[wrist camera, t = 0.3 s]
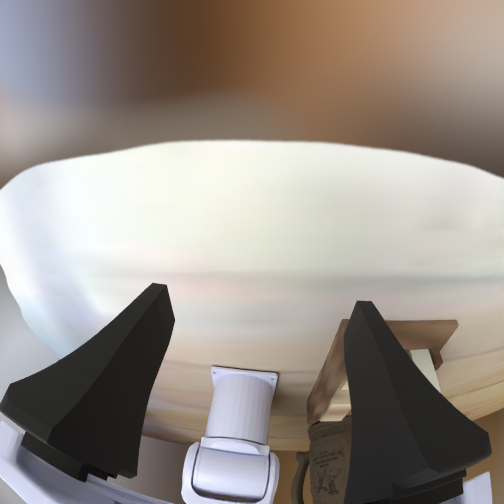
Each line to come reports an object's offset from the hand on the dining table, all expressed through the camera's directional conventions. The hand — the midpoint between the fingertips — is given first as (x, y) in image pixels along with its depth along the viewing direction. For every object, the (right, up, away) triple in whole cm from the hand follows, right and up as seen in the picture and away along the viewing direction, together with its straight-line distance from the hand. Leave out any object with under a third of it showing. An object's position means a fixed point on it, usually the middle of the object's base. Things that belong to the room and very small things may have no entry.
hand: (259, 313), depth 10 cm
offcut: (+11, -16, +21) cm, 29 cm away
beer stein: (+14, -30, +32) cm, 46 cm away
